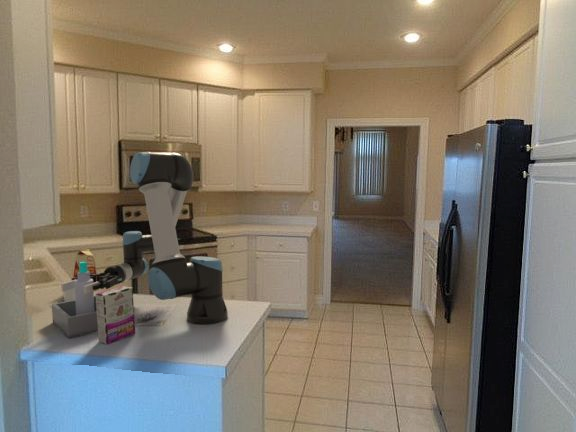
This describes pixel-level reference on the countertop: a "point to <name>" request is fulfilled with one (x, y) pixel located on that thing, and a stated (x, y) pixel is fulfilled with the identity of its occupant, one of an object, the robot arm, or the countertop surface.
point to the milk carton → (85, 257)
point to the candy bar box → (115, 314)
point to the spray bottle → (83, 300)
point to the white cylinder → (69, 295)
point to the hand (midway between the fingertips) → (73, 288)
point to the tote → (74, 319)
